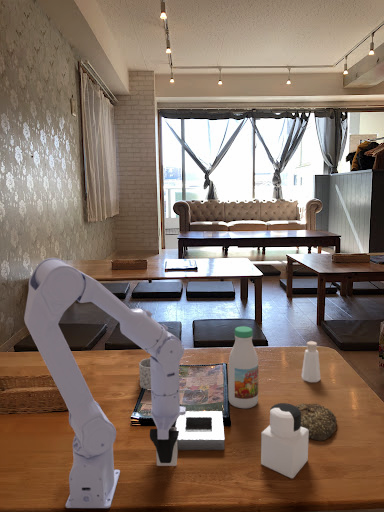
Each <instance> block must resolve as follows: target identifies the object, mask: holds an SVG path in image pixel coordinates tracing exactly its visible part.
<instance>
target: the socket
mask: <svg viewBox="0 0 384 512" xmlns="http://www.w3.org/2000/svg"><path fill="white" fill-rule="evenodd" d="M223 421H224V419H223V411H221V410H220V411H217V410H216V411H215V410H214V411H213V410H212V411H209V410H208V411H203V410H201V411H200V410H199V411H198V410H197V411H193V410H192V411H189V410H188V411H186V413H185V414H184V415H180V416H179V417H178V418H177V421H176V427H177V431H179V436H178V439H177V449H178V451H224V450H225V431H224V430H225V429H224V422H223Z"/></svg>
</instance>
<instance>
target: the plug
mask: <svg viewBox="0 0 384 512" xmlns="http://www.w3.org/2000/svg"><path fill="white" fill-rule="evenodd" d="M170 431H177V427H171V428H170ZM155 449H156V448H155ZM155 451H156V452H155V455H156V456H155V457H156V466H158V467H160V466H161V467H163V466H164V467H165V466H166V467H168V466H169V467H176V466H177V465H178V464H177V462H178V451H179V450H178V449H177V441H176V442H175V445H174V448H173V454H172V460H171V463H160V460H159V457H158V453H157V449H156V450H155Z"/></svg>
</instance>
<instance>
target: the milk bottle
mask: <svg viewBox="0 0 384 512" xmlns="http://www.w3.org/2000/svg"><path fill="white" fill-rule="evenodd" d="M253 333H254V332H253V328H251V327H249V326H243V325H242V326H241V325H240V326H237V327H235V328H234V338H235V341H234V344H233V346H232V349H231V350H230V353H229V357H228V370H227V371H228V374H227V375H228V378H227V379H228V381H227V382H228V390H227V391H228V393H227V394H228V395H227V396H228V401H229V403H230V405H232V406H233V407H234V408H238V409H250V408H253V407H256V406H257V404H258V402H259V358H258V354H257V351H256V349H255V347H254V344H253V340H252V339H253V338H254V337H253V335H254V334H253Z"/></svg>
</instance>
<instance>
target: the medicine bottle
mask: <svg viewBox="0 0 384 512" xmlns="http://www.w3.org/2000/svg"><path fill="white" fill-rule="evenodd" d="M296 406H297V405H294V404H292V403H286V402H285V403H284V402H282V403H281V402H280V403H276V404H274V405H273V406H271V408H270V410H269V413H270V414H269V425H268V426H267V427H266V428H265V429H264V430H262V431H261V433H260V435H261V436H260V464H261V465H262V466H263V467H266V468H268V469H270V470H272V471H275V472H277V473H279V474H281V475H283V476H285V477H288V478H290V479H294V478H295V477H296V475H297V474H298V473H299V472H300V470H301V469H302V468H303V467H304V466H305V465H306V463H307V462H308V459H309V458H308V457H309V437H308V436H309V430H308V429H306V428H304V427H301V411H300V410H299V409H298V408H297V407H296Z"/></svg>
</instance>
